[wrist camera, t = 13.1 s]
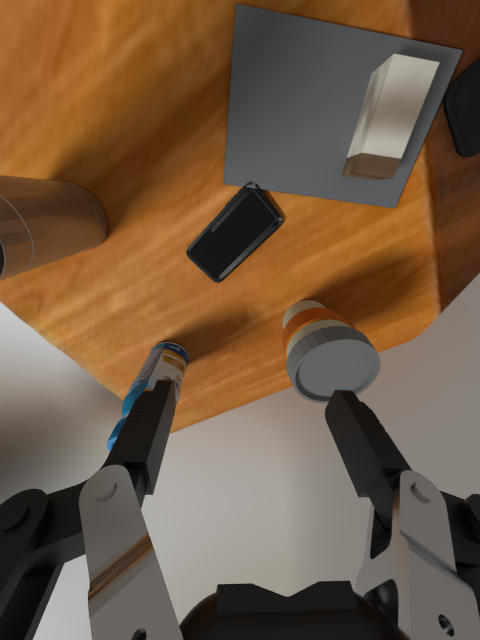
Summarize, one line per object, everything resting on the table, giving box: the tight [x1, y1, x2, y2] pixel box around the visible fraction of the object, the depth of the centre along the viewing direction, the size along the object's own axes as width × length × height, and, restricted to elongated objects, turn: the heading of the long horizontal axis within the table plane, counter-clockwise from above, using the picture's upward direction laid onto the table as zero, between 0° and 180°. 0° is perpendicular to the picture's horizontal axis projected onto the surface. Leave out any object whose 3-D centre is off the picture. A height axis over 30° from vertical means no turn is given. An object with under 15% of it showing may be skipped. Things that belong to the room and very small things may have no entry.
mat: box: [224, 4, 463, 208], centre depth 27 cm, size 26×16×1 cm, turn 83°
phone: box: [186, 182, 282, 283], centre depth 34 cm, size 8×1×15 cm
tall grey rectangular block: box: [342, 54, 440, 180], centre depth 26 cm, size 10×5×4 cm, turn 173°
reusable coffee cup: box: [282, 300, 380, 403], centre depth 36 cm, size 12×12×15 cm
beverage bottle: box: [107, 342, 189, 451], centre depth 38 cm, size 8×8×20 cm
